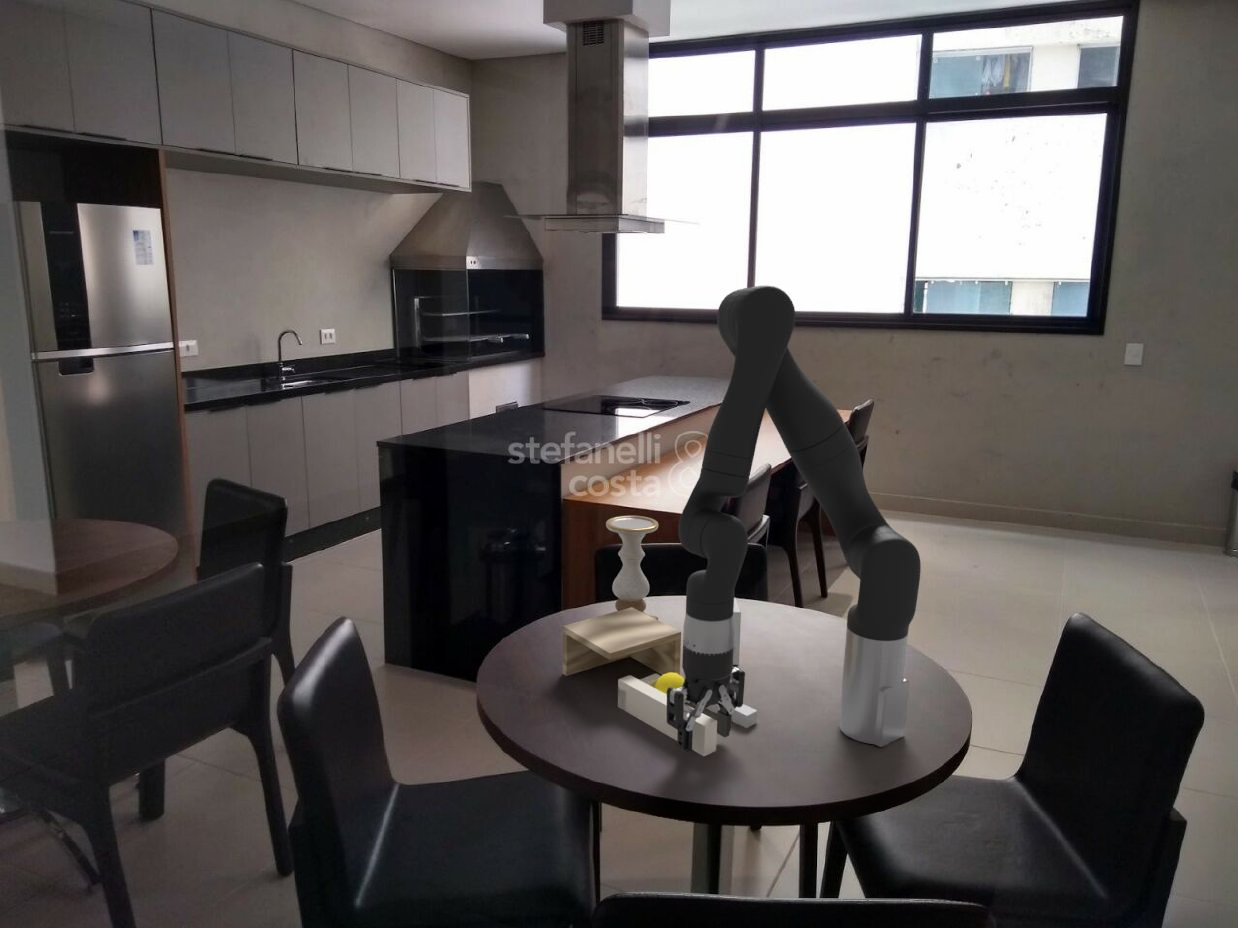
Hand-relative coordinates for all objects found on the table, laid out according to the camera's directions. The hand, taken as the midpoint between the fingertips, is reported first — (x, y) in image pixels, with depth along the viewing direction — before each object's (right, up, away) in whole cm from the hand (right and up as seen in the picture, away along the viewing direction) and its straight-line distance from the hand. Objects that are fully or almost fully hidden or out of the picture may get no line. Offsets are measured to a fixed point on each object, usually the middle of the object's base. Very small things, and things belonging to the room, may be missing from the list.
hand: (704, 741), depth 134 cm
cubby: (-13, +4, +24) cm, 27 cm away
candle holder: (-11, +8, +41) cm, 43 cm away
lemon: (-4, +2, +15) cm, 15 cm away
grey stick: (+4, +1, +13) cm, 13 cm away
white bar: (-3, 0, +9) cm, 9 cm away
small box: (+7, +6, +33) cm, 34 cm away
